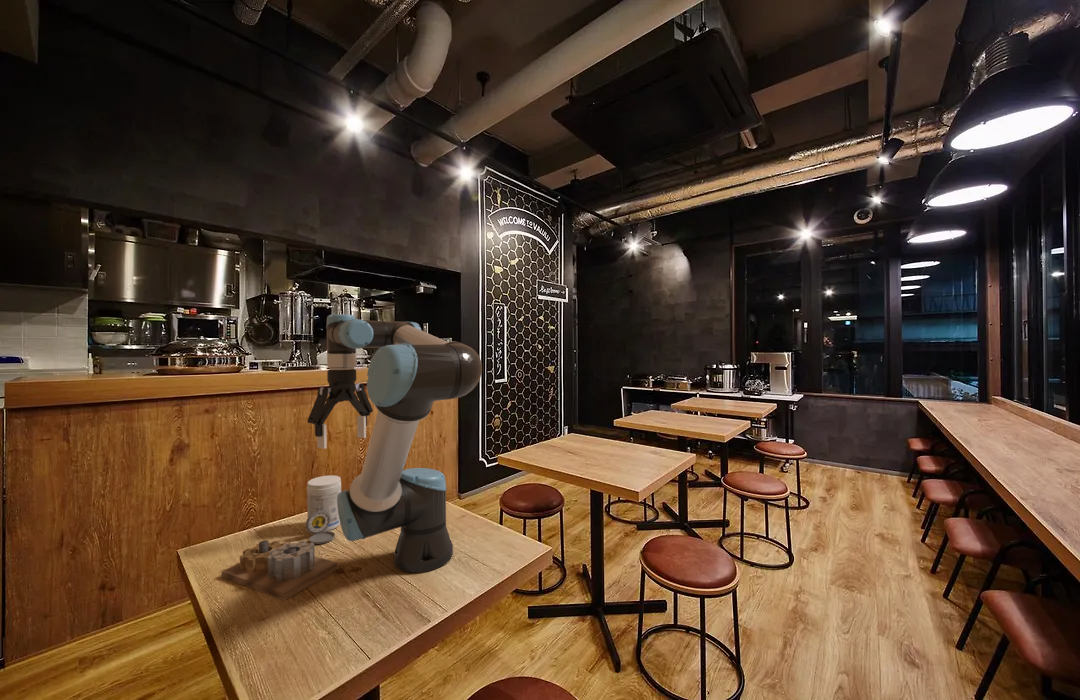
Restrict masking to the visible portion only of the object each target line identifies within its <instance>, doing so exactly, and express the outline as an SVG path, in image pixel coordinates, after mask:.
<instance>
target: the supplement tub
mask: <svg viewBox="0 0 1080 700" xmlns="http://www.w3.org/2000/svg"><path fill="white" fill-rule="evenodd" d="M340 492H342V480H341V476H339V475H322V476H318V477H314V478H312V479H310V480H308V481H307V486H306V501H307V502H306V503H307V505H306V506H307V507H306V508H307V513H306V514H307V518H308V517H309V516H310V515H311V514H312V513H313V512H315V511H317V509H316V507H317V506H318V505H319V506H321V505H322V504H323V505H322V506H321V507H320V509H319V510H324V511H326V512H328V513H329V515H330V519H331V520H330V524H329V526H328V527H327V528H326V529H325V530H324V531H323V532H330V531H333V530H334V529H336V528H338V527H339V526H341V524H340V520H339V514H338V507H337V496H338V494H339V493H340ZM317 502H321V503H322V504H321V503H317ZM315 503H316V504H315ZM314 504H315V505H314ZM313 505H314V507H315V508H314V507H313ZM323 518H324V517H323ZM323 518H321V519H323ZM323 520H324V519H323ZM322 523H324V521H322ZM317 524H318V523H317ZM317 524H315V525H316V526H315V527H314V528H318V527H320V526H317Z"/></svg>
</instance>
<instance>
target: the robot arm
mask: <svg viewBox="0 0 1080 700" xmlns="http://www.w3.org/2000/svg"><path fill="white" fill-rule="evenodd" d="M325 329H326V364H327V365H326V367H327V368H329V369H328V370H327V371H326V373H327V375H326V376H327V379H326V380H327V383H328V387H321V386H320V387H318V389H317V396H316V399H315V402H314V404H313V406H312V408H311V410H310V413H309V416H308V418H307V423H308V424H311V425H312V424H313V425H314V436H315V437H316V442H317V443H316V447H317V449H323V450H325V449H327V448H328V447H327V444H328V443H327V440H328V439H327V424H326V423H325V422H326V420H327V418H328V417H329V416H330V414H331V413H332V411H333V410H334V407H335V406H336V405H337V404H338V403H341V402H347V401H348V402H349V403H350V404H351V405H352V407H353V408H354V409H355V410H356V412H357V413H358V414H359V415H357V416H356V422H357V423H356V427H357V433H356V434H357V435H356V436H357V438H358V439H359V438H361V439H365V438H367V426H368V416H369V417H370V415H371V413H373V406H372V404H373V405H374V407H375V409H376V410H377V413H376V414H377V415H376V417H375V422H374V425H373V428H372V433H371V437H370V440H369V443H368V448H367V450H366V454H365V457H364V458H365V459H364V462H363V466H362V470H361V473H360V474H358V476H356V477H355V478H354V479H353V480H352V482H351V483H350V487H349V489H344V490H343V491H342V490H341V492H340V493H339V494H338V496H337V507H338V514H339V520H340V528H341V530H342V534H343V536H344V538H345V539H346V540H347V541H350V542H355V541H359V540H365V539H367V538H369V537H373V536H376V535H379V534H383V533H386V532H390V531H393V530H397V529H399V528H400V533H399V536H398V540H397V543H396V546H395V549H394V552H393V564H394V566H395V568H396V569H398V570H400V571H403V572H407V573H425V572H429V571H434V570H437V569H439V568H442V567H443V566H445V565H446V564H447V562H448V561H449V560H450V559H452V558H453V556H454V555H453V554H454V545H453V541H452V540H451V538H450V534H449V531H448V529H447V489H448V488H447V483H446V482H447V481H446V476H445V474H444V473H443V472H441V471H440V470H437V469H433V468H427V467H413V468H405V469H404V467H405V465H406V461H407V460H408V459H407V458H408V455H409V453H410V449H411V447H412V443H413V442H414V437H415V435H416V431H417V429H418V426H419V423H420V421H422V420H424V419H425V418H427V417H428V415H430V413H431V410H432V408H433V406H434V403H435V402H436V401H437V402H438V401H446V400H453V399H458V398H462V397H464V396H467V394H469V393H471V392H472V391H473V390H474V389H475V388H476V387H477V385H478V383H479V382H480V380H481V378H482V373H483V364H482V360H481V358H480V356H479V354H478V353H477V351H476V350H475V349H474V348H472V347H471V346H469V345H467V344H464V343H462V342H459V341H455V340H454V341H447V340H444V339H442V338H439V337H437V336H434V335H432V334H431V333H428V332H426V331H424V330H422V328H421V326H420V324H419V323H417V322H414V321H407V320H406V321H390V320H388V321H387V320H386V321H384V320H365V319H364V320H362V319H359V318H358V319H357V318H356V317H355V316H354V315H353V314H344V313H340V314H339V313H338V314H337V313H335V314H329V315H327V317H326V326H325ZM357 349H377V350H376V352H375V353H374V354H373V356H372V357H371V360H370V362H369V365H368V369H367V372H366V373H367V375H366V376H367V377H368V378H367V380H366V390H367V393H366V391H365V384H364V383H360V382H359V383H358V382H357V369H355V368H356V367H357ZM355 382H357V383H355ZM367 395H368V396H367ZM370 401H371V402H370ZM371 403H372V404H371ZM452 555H453V556H452ZM451 557H452V558H451ZM450 561H451V560H450ZM450 561H449V562H450ZM449 562H448V563H449ZM444 564H445V565H444Z"/></svg>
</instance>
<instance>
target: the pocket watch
mask: <svg viewBox="0 0 1080 700" xmlns="http://www.w3.org/2000/svg"><path fill="white" fill-rule="evenodd" d="M317 503H321V502H317ZM315 504H316V503H315ZM315 504H314V505H315ZM321 504H322V503H321ZM314 505H313V507H314ZM322 505H323V504H322ZM322 505H321V506H322ZM321 506H319V505H318V506H317V507H316V509H317V511H315V512H313V513H312V514H311V515H310V516H309V517H308V516H307V519H306V522H305V529H306V530H307V532H308V533H310V534H311V536H310V537H309V539H308V542H309V543H314V545H320V544H326V543H328V542H331V541H333V540H334V539H335V537H336V534H335V532H333V531H325V532H323V531H324V530H325V529H326V528H327V527H328V526H329V524H330V520H331V519H330V515H329V513H328V512H326V511H324V510H319V509H320V507H321ZM314 508H315V507H314ZM323 517H324V518H323ZM321 518H323V519H324V520H323V519H321ZM322 521H324V523H322ZM317 523H318V524H317ZM315 524H317V526H320V527H318V528H314V527H315V526H316V525H315Z"/></svg>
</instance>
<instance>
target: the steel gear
mask: <svg viewBox="0 0 1080 700" xmlns="http://www.w3.org/2000/svg"><path fill="white" fill-rule="evenodd" d="M285 543H286V542H285ZM292 548H296V552H295V553H291V554H287V550H289V549H292ZM315 555H316V554H315V544H314V543H310V542H309V543H308V542H307V540H299V541H297V542H292V543H291V542H287V543H286V544H283V546H282V547H280V548H278V549H273V550H271V551H270V556H267V560H268V578H269V579H272V578H275V579H276V582H282V581H283V580H286V579H291V578H293V579H297V578H300V577H301V575H302V574H304V573H306V572H311V571H312V570H313V564H315Z"/></svg>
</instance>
